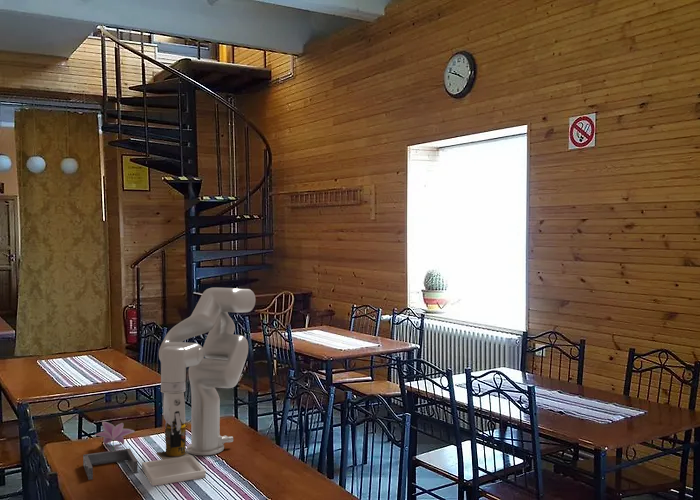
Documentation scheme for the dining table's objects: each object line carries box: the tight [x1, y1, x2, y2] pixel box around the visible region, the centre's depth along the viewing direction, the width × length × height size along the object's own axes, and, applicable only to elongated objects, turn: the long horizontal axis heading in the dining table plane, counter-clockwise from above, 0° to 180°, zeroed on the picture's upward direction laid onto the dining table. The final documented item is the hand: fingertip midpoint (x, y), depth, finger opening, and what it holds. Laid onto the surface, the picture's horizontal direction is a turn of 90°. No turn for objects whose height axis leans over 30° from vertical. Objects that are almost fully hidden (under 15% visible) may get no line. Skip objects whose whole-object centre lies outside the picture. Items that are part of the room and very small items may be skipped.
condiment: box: [155, 420, 190, 460], centre depth 209 cm, size 7×8×12 cm
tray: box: [141, 454, 207, 487], centre depth 209 cm, size 16×16×2 cm
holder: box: [82, 447, 139, 481], centre depth 212 cm, size 14×14×4 cm
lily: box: [94, 420, 135, 451], centre depth 233 cm, size 12×12×10 cm
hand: (172, 443), depth 209 cm, fingers closed on condiment, 6 cm apart
